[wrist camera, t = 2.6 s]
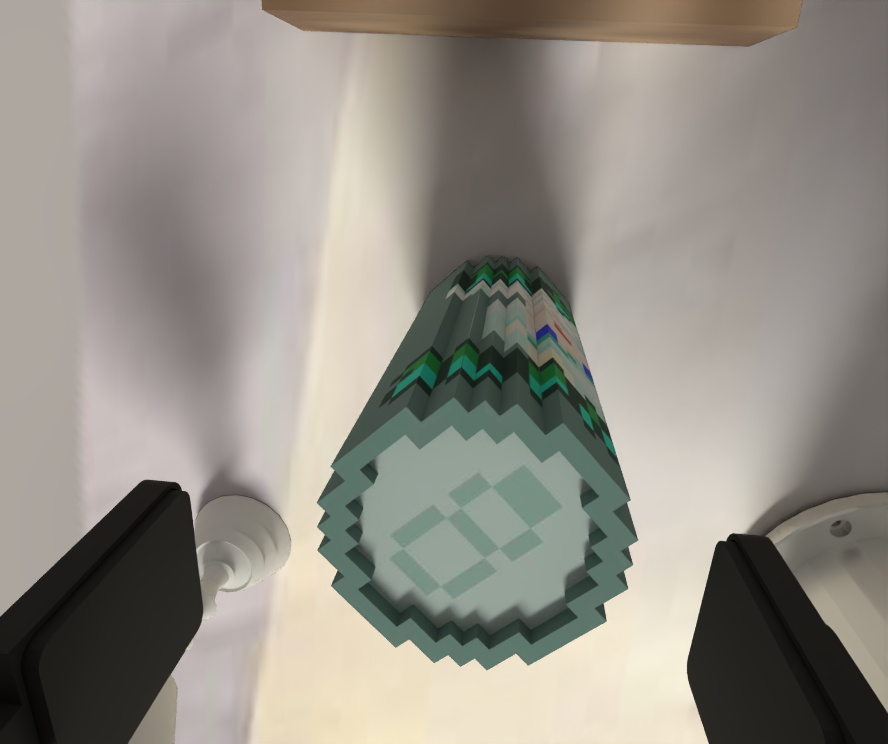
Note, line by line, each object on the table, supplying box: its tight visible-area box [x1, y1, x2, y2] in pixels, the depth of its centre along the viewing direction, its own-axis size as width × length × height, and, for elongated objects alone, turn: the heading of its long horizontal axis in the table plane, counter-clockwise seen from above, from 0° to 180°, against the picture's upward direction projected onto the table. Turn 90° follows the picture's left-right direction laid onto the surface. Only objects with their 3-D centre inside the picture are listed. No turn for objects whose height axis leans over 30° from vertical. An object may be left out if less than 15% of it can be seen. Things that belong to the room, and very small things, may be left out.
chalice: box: [128, 495, 291, 744], centre depth 23 cm, size 7×7×18 cm
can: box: [317, 255, 638, 670], centre depth 19 cm, size 6×6×15 cm
